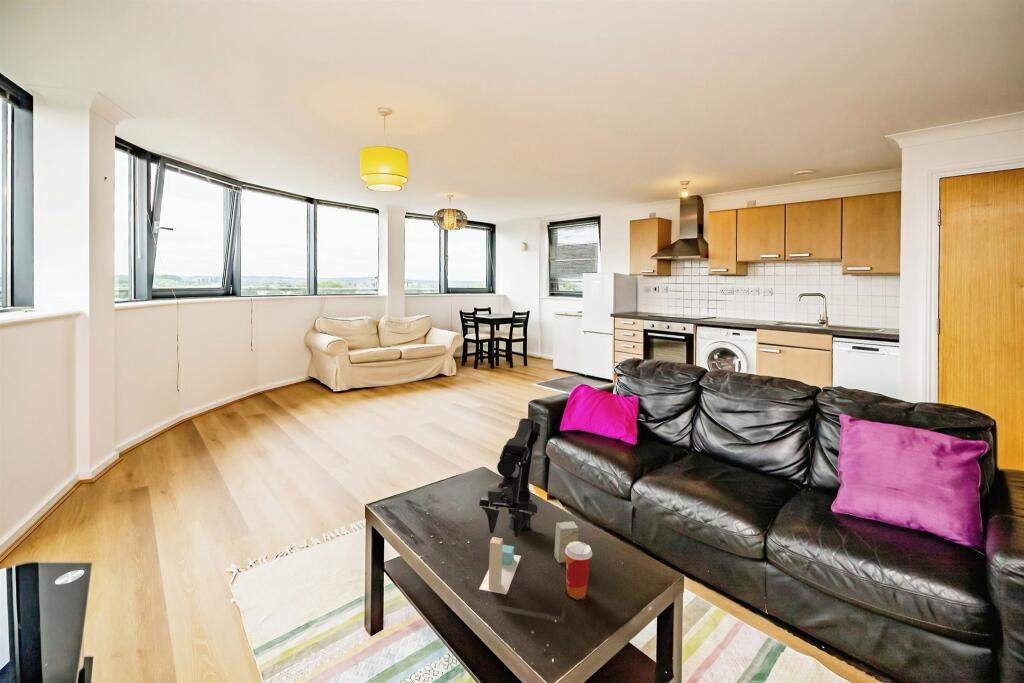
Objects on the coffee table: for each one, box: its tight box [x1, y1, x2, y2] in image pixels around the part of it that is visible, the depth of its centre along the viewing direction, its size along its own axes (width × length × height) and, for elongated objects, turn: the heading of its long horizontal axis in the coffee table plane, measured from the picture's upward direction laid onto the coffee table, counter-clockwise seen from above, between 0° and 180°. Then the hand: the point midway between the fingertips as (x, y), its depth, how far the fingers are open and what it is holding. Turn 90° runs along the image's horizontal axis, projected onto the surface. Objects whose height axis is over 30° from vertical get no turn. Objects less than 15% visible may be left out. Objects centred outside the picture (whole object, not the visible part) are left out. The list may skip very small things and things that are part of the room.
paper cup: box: [565, 541, 593, 598], centre depth 133 cm, size 8×8×14 cm
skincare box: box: [553, 520, 579, 564], centre depth 149 cm, size 6×4×12 cm
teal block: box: [502, 544, 515, 566], centre depth 146 cm, size 4×4×4 cm
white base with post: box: [478, 536, 522, 595], centre depth 140 cm, size 20×8×15 cm, turn 167°
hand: (503, 534), depth 141 cm, fingers open, 9 cm apart
